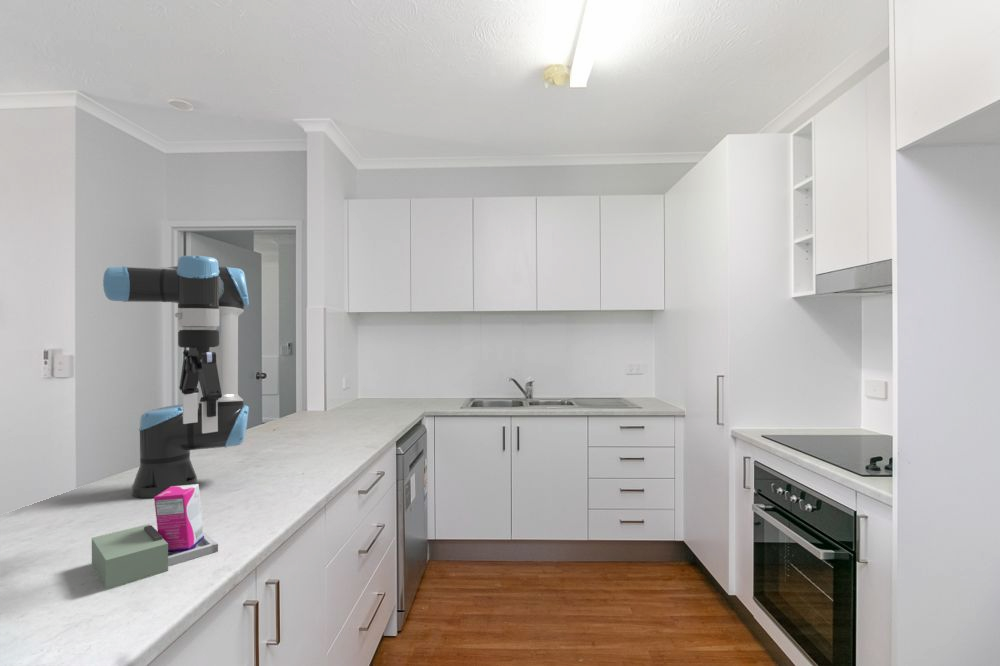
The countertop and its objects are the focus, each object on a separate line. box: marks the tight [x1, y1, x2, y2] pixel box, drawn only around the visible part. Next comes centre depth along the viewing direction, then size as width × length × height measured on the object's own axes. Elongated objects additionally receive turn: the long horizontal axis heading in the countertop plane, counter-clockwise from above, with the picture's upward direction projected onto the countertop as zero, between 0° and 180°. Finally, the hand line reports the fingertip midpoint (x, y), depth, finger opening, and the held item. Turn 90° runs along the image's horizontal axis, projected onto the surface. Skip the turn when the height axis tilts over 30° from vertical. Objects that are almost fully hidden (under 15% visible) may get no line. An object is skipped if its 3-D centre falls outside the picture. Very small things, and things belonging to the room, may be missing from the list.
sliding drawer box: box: [91, 523, 219, 590], centre depth 95 cm, size 14×18×6 cm
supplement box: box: [153, 483, 205, 553], centre depth 98 cm, size 6×6×12 cm
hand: (199, 427), depth 105 cm, fingers open, 13 cm apart
